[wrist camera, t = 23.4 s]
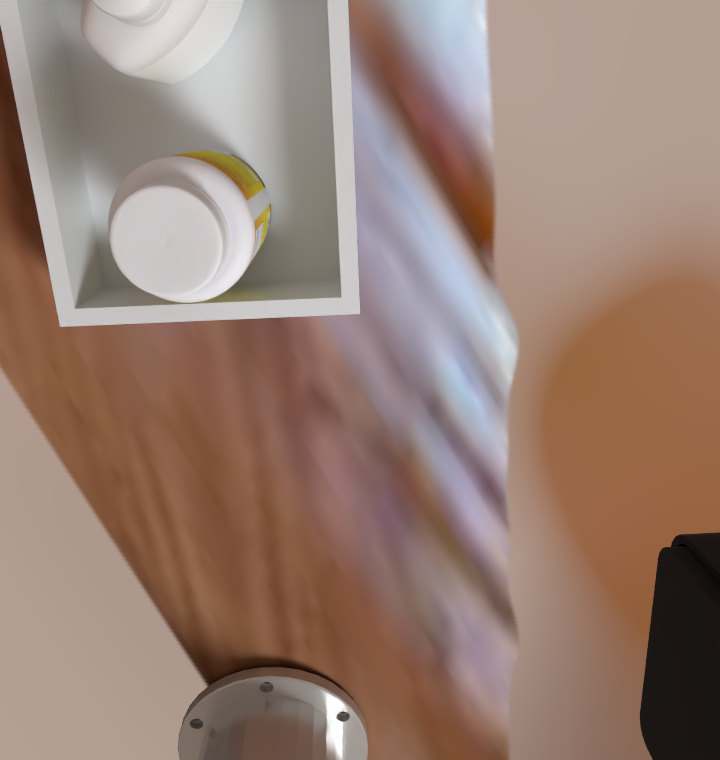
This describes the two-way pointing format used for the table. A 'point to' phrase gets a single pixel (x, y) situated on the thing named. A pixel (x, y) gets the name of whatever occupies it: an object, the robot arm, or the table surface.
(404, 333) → the table surface
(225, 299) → the box
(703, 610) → the robot arm
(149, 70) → the eye dropper bottle
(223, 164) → the supplement bottle
